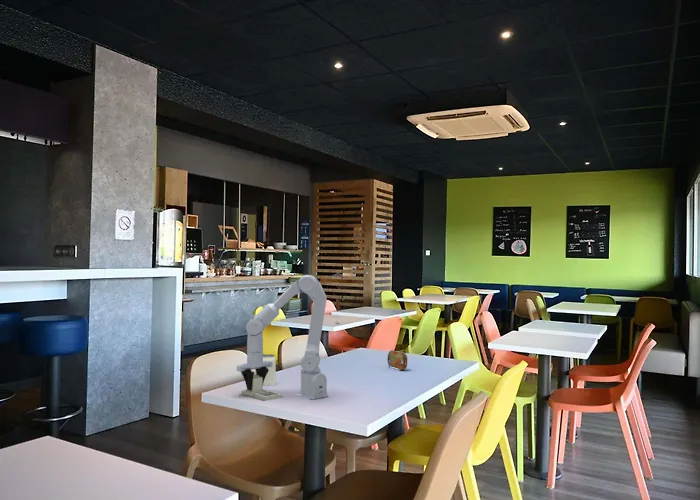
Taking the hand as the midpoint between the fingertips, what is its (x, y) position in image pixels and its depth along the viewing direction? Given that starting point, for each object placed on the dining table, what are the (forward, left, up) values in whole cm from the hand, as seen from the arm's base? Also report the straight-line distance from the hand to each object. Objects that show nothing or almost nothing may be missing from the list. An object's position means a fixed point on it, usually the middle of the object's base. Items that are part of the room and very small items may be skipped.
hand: (254, 389), depth 199 cm
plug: (0, 0, -2) cm, 2 cm away
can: (+11, -14, -2) cm, 18 cm away
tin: (-1, -81, -3) cm, 81 cm away
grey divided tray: (-4, 0, -2) cm, 5 cm away
